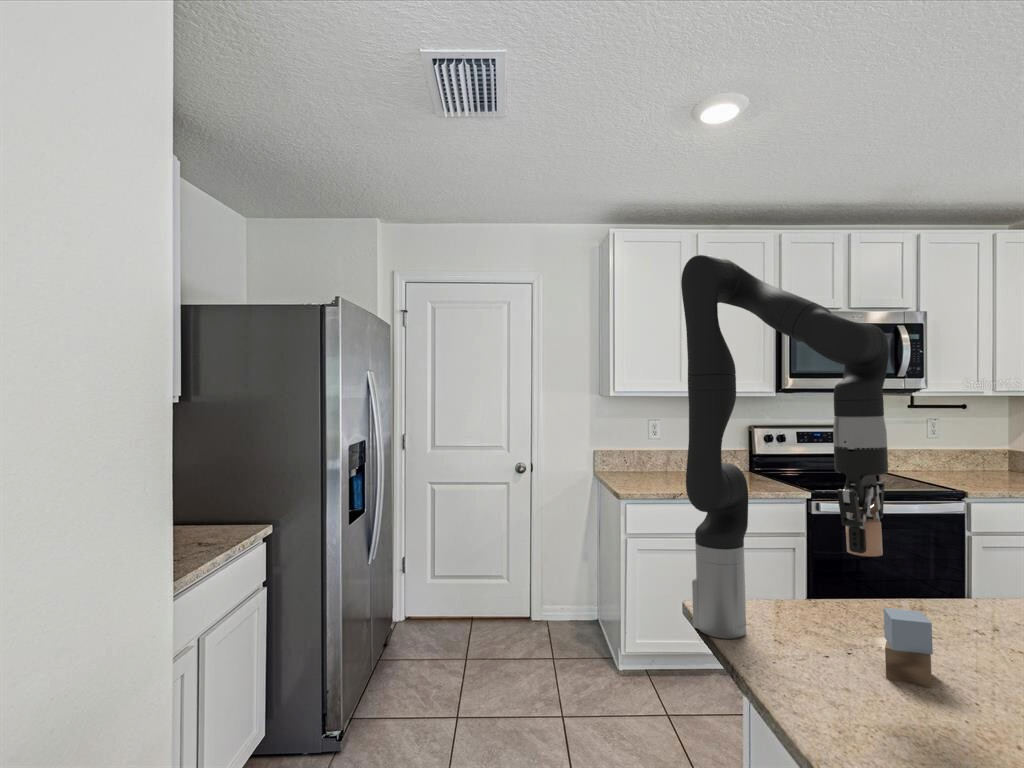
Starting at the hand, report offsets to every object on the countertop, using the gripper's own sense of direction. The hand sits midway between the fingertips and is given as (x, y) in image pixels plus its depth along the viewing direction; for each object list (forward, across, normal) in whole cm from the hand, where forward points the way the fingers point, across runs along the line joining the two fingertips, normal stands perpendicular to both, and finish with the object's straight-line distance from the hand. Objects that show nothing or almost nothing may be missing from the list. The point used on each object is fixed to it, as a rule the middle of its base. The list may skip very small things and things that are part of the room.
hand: (864, 548), depth 95 cm
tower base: (+22, -8, +3) cm, 23 cm away
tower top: (+17, -8, +3) cm, 19 cm away
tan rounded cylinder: (+1, 0, 0) cm, 1 cm away
